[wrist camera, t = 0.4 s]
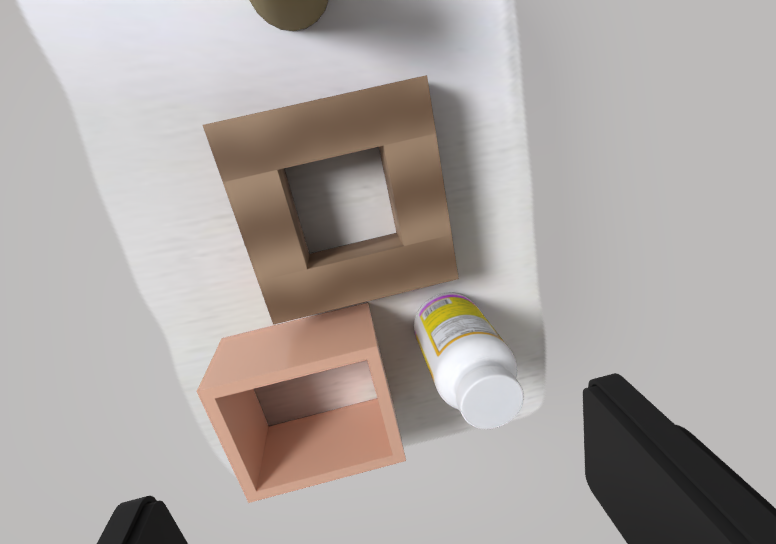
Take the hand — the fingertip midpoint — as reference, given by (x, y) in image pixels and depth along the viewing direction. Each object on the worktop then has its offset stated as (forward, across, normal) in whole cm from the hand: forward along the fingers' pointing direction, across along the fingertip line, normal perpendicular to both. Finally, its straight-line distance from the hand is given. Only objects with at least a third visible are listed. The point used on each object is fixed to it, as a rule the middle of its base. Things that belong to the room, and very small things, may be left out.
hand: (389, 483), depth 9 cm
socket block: (+29, 0, 0) cm, 29 cm away
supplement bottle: (+29, -7, +14) cm, 33 cm away
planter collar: (+29, +7, +16) cm, 34 cm away
